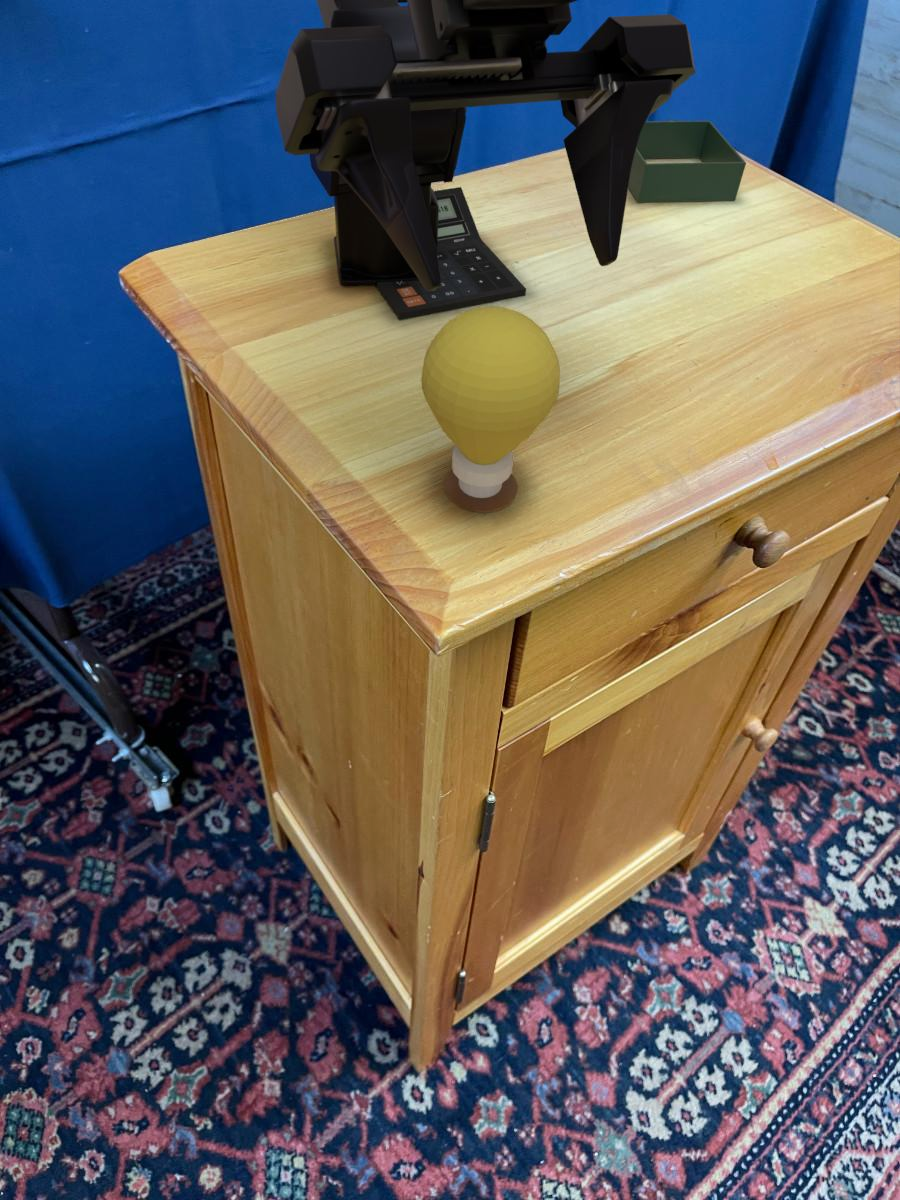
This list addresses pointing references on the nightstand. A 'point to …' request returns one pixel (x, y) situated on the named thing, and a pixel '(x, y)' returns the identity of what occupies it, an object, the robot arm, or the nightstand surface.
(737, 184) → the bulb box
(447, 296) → the calculator
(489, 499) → the coaster
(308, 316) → the nightstand surface
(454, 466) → the light bulb
